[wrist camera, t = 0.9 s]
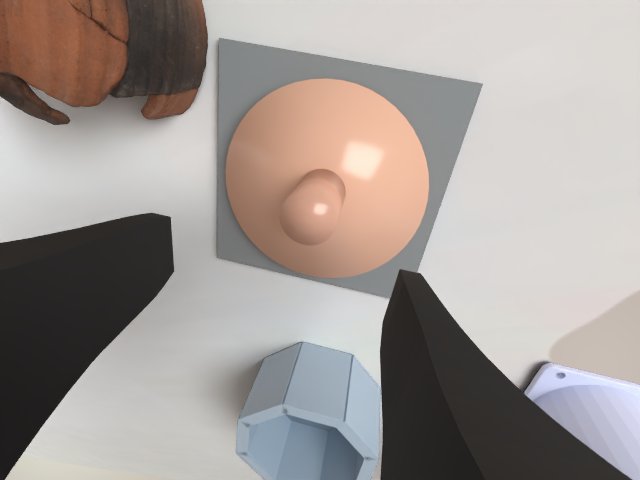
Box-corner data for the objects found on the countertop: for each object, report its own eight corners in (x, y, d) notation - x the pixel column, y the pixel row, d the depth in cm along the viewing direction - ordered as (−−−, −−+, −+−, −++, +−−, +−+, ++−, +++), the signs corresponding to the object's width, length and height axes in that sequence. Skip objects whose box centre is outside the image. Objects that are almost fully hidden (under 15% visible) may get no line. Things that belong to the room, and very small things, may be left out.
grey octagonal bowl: (389, 363, 23) (390, 433, 19) (362, 439, 27) (357, 510, 23) (266, 332, 24) (239, 392, 19) (258, 410, 28) (234, 474, 24)
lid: (457, 100, 15) (481, 111, 11) (396, 287, 20) (398, 341, 16) (234, 60, 16) (184, 57, 12) (229, 249, 21) (193, 290, 17)
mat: (480, 83, 15) (482, 83, 14) (406, 298, 20) (406, 302, 20) (222, 38, 16) (218, 37, 15) (219, 254, 21) (216, 257, 21)
